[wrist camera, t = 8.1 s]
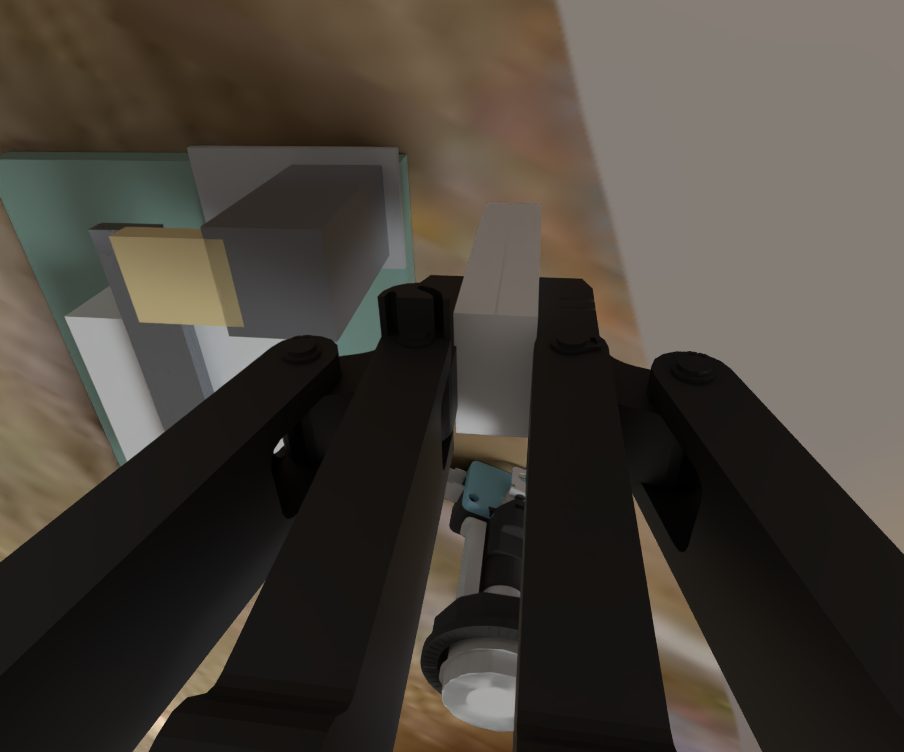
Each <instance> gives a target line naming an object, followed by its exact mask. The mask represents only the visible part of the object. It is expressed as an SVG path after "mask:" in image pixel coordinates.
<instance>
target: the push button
mask: <svg viewBox="0 0 904 752" xmlns="http://www.w3.org/2000/svg"><path fill="white" fill-rule="evenodd" d="M520 474H521V475H524V476H526V470H524V469H521V468H519V467H513V468H512V474H510V473H508V472H505V471H503V470H500V469H497V468H495V467H492V466H490V465H487V464H484V463H482V462H479V461H473V462H472V464H471V465H470V467H469V469H468V470H467V472H466V471H464V470H461V469H458V468H455V470H454V469H452V468H450V470H449V475H448V480H447V485H446V490H445V495H444V496H445V499H447V500H450V501H453V502H455V504H454V506H453V508H452V514H451V519H450V524H449V526H450V529H451V530H452V531H453V532H455V533H458V534H460V535H462V536H463V537H465V543H464V550H463V556H462V563H461V569H460V576H459V582H458V589H457V595H456V600H455V601H454V602H453V603H452V604H450V605H449V606H448V607H447V608H446V609H444V610H443V611H442V612H441V613H440V614H439V615H437V616H436V617H435V620H434V625H433V631H432V633H431V634H430V635H429V637H428V638H427V639H426V641H425V643H424V646H423V649H422V655H421V669H422V672H423V674H424V676H425V678H426V680H427V681H428V682H429V683H430V685H431V686H432V687H433V688H434V689H436V690H437V691H438V692H439V693H441V694H442V701H443V702H444V705H445V706H446V707H447V708H448V709H449V710H450V711H451V713H452V714H453V715H454V716H455V717H457V718H459V719H461V720H463V721H465V722H467V723H469V724H471V725H473V726H477V727H481V728H486V729H490V730H495V731H514V712H515V691H516V671H517V651H518V631H519V611H520V591H521V570H522V550H523V530H524V510H525V490H526V483H525V482H526V479H523V478H521V477H519V476H518V475H520ZM479 583H480V584H479ZM478 592H479V593H478Z"/></svg>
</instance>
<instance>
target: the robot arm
mask: <svg viewBox="0 0 904 752" xmlns="http://www.w3.org/2000/svg"><path fill="white" fill-rule="evenodd" d="M541 205H542V204H540V203H488V202H486V203H485V207H484V210H483V214H482V217H481V221H480V224H479V227H478V231H477V234H476V238H475V241H474V244H473V248H472V251H471V255H470V258H469V262H468V265H467V268H466V272H465V275H464V276H440V275H430V276H429V277H428V278H426V279H425V280H423V281H422V282H420V283H405V284H401V285H396V286H392V287H390V288H388V289H386V290H384V291H382V292H381V293H380V294H379V295H378V296H377V298H378V308H379V317H380V327H381V338H380V340H379V342H378V345H377V347H376V349H375V350H372V351H369V352H364V353H359V354H352V355H344V356H339V352H338V345H337V344H336V343H335V342H334V341H333V340H331V339H328V338H325V337H322V336H313V335H303V336H301V335H299V336H294V337H292V338H290V339H286V340H283V341H281V342H279V343H277V344H276V345H274V346H272V347H271V348H269V349H268V350H267V351H266V352H264V353H263V354H262V355H261V356H259V357H258V358H257V359H256V360H254V361H253V362H252V363H251V364H249V365H248V366H247V367H246V368H244V369H243V370H242V371H241V372H239V373H238V374H237V375H236V376H234V377H233V378H232V379H230V380H229V381H228V382H227V383H225V384H224V385H223V386H222V387H220V388H219V389H218V390H217V391H215V392H214V393H213V394H212V395H210V396H209V397H208V398H207V399H205V400H204V401H203V402H202V403H200V404H199V405H198V406H196V407H195V408H194V409H193V410H191V411H190V412H189V413H188V414H186V415H185V416H184V417H183V418H181V419H180V420H179V421H178V422H176V423H175V424H174V425H173V426H171V427H170V428H169V429H168V430H166V431H165V432H164V433H162V434H161V435H160V436H159V437H157V438H156V439H155V440H154V441H152V442H151V443H150V444H149V445H147V446H146V447H145V448H144V449H142V450H141V451H140V452H139V453H137V454H136V455H135V456H134V457H132V458H131V459H130V460H129V461H127V462H126V463H125V464H123V465H122V466H121V467H120V468H118V469H117V470H116V471H115V472H113V473H112V474H111V475H110V476H108V477H107V478H106V479H105V480H103V481H102V482H101V483H100V484H98V485H97V486H96V487H95V488H93V489H92V490H91V491H89V492H88V493H87V494H86V495H84V496H83V497H82V498H81V499H79V500H78V501H77V502H76V503H74V504H73V505H72V506H71V507H69V508H68V509H67V510H66V511H64V512H63V513H62V514H61V515H59V516H58V517H57V518H55V519H54V520H53V521H52V522H50V523H49V524H48V525H47V526H45V527H44V528H43V529H42V530H40V531H39V532H38V533H37V534H35V535H34V536H33V537H32V538H30V539H29V540H28V541H27V542H25V543H24V544H23V545H22V546H20V547H19V548H18V549H16V550H15V551H14V552H13V553H11V554H10V555H9V556H8V557H6V558H5V559H4V560H3V561H1V562H0V752H133V750H134V749H135V748H136V746H137V745H138V744H139V742H140V741H141V740H142V739H143V737H144V736H145V735H146V733H147V732H148V731H149V730H150V728H151V727H152V726H153V724H154V723H155V722H156V721H157V719H158V718H159V717H160V715H161V714H162V713H163V712H164V710H165V709H166V708H167V706H168V705H169V704H170V703H171V701H172V700H173V699H174V697H175V696H176V695H177V694H178V692H179V691H180V690H181V688H182V687H183V686H184V685H185V683H186V682H187V681H188V679H189V678H190V677H191V676H192V674H193V673H194V672H195V670H196V669H197V668H198V666H199V665H200V664H201V663H202V661H203V660H204V659H205V657H206V656H207V655H208V654H209V652H210V651H211V650H212V648H213V647H214V646H215V645H216V643H217V642H218V641H219V639H220V638H221V637H222V636H223V634H224V633H225V632H226V630H227V629H228V628H229V627H230V625H231V624H232V623H233V621H234V620H235V619H236V618H237V616H238V615H239V614H240V612H241V611H242V610H243V609H244V607H245V606H246V605H247V603H248V602H249V601H250V600H251V598H252V597H253V596H254V594H255V593H256V592H257V590H258V589H259V588H260V587H261V585H262V584H263V583H264V581H265V580H266V581H265V583H264V585H263V587H262V589H261V591H260V593H259V595H258V598H257V600H256V602H255V604H254V606H253V608H252V610H251V612H250V614H249V617H248V619H247V621H246V623H245V625H244V627H243V629H242V631H241V633H240V635H239V638H238V640H237V642H236V644H235V646H234V648H233V650H232V652H231V654H230V657H229V659H228V661H227V663H226V665H225V667H224V669H223V671H222V673H221V675H220V677H219V678H218V680H217V682H216V684H215V685H214V686H213V687H212V688H211V689H210V690H209V691H208V692H207V693H205V694H200V695H196V696H192V697H187V698H186V699H185V700H184V701H183V702H182V703H181V704H180V705H179V706H178V707H177V708H176V709H174V710H173V711H172V713H171V714H170V716H169V718H168V719H167V721H166V722H165V724H164V725H163V727H162V729H161V730H160V732H159V733H158V735H157V736H156V738H155V740H154V742H153V744H152V746H151V748H150V750H149V752H393V748H394V743H395V738H396V733H397V728H398V723H399V718H400V713H401V709H402V704H403V699H404V694H405V689H406V684H407V679H408V674H409V669H410V664H411V659H412V654H413V649H414V644H415V639H416V634H417V629H418V624H419V619H420V614H421V609H422V604H423V599H424V594H425V589H426V584H427V579H428V574H429V569H430V564H431V559H432V554H433V549H434V544H435V540H436V535H437V530H438V525H439V520H440V515H441V510H442V505H443V500H444V495H445V490H446V485H447V480H448V475H449V470H450V465H451V460H452V455H453V450H454V440H453V428H454V423H455V418H456V433H468V434H483V435H497V436H512V437H527V438H528V450H527V466H526V482H525V483H526V490H525V510H524V530H523V550H522V570H521V591H520V611H519V631H518V651H517V671H516V691H515V712H514V732H513V752H677V751H676V749H675V746H674V743H673V739H672V734H671V730H670V723H669V717H668V711H667V705H666V699H665V693H664V686H663V680H662V674H661V668H660V662H659V656H658V649H657V643H656V637H655V631H654V625H653V619H652V612H651V606H650V600H649V594H648V588H647V582H646V575H645V569H644V563H643V557H642V551H641V545H640V538H639V532H638V526H637V520H636V514H635V508H634V502H633V495H634V497H635V499H636V501H637V503H638V505H639V507H640V509H641V511H642V513H643V515H644V517H645V519H646V521H647V523H648V525H649V527H650V529H651V531H652V533H653V535H654V537H655V539H656V541H657V543H658V545H659V547H660V549H661V551H662V553H663V555H664V557H665V559H666V561H667V563H668V565H669V567H670V569H671V571H672V573H673V575H674V577H675V579H676V581H677V583H678V585H679V587H680V589H681V591H682V593H683V595H684V597H685V599H686V601H687V603H688V605H689V607H690V609H691V611H692V613H693V615H694V617H695V619H696V621H697V623H698V625H699V627H700V629H701V631H702V633H703V635H704V637H705V639H706V641H707V643H708V645H709V647H710V649H711V651H712V653H713V655H714V657H715V659H716V661H717V663H718V665H719V667H720V669H721V671H722V673H723V675H724V677H725V678H726V680H727V682H728V684H729V686H730V688H731V690H732V692H733V694H734V696H735V698H736V700H737V702H738V704H739V706H740V708H741V710H742V712H743V714H744V716H745V718H746V720H747V722H748V724H749V726H750V728H751V730H752V732H753V734H754V736H755V738H756V740H757V742H758V744H759V746H760V748H761V750H762V752H904V554H903V553H902V552H901V551H900V550H899V549H898V548H897V547H896V545H895V544H894V543H893V542H892V541H891V540H890V539H889V538H888V537H887V536H886V535H885V534H884V533H883V532H882V530H881V529H880V528H879V527H878V526H877V525H876V524H875V523H874V522H873V521H872V520H871V519H870V518H869V517H868V516H867V514H866V513H865V512H864V511H863V510H862V509H861V508H860V507H859V506H858V505H857V504H856V503H855V501H854V500H853V499H852V498H851V497H850V496H849V495H848V494H847V493H846V492H845V491H844V490H843V489H842V488H841V486H840V485H839V484H838V483H837V482H836V481H835V480H834V479H833V478H832V477H831V476H830V475H829V474H828V472H827V471H826V470H825V469H824V468H823V467H822V466H821V465H820V464H819V463H818V462H817V461H816V460H815V459H814V458H813V457H812V455H811V454H810V453H809V452H808V451H807V450H806V449H805V448H804V447H803V446H802V445H801V443H799V441H798V440H797V439H796V438H795V437H794V436H793V435H792V434H791V433H790V432H789V431H788V430H787V428H786V427H785V426H784V425H783V424H782V423H781V422H780V421H779V420H778V419H777V418H776V417H775V416H774V415H773V414H772V412H771V411H770V410H769V409H768V408H767V407H766V406H765V405H764V404H763V403H762V402H761V401H760V399H759V398H758V397H757V396H756V395H755V394H754V393H753V392H752V391H751V390H750V389H749V388H748V387H747V386H746V385H745V383H744V382H743V381H742V380H741V379H740V378H739V377H738V376H737V375H736V374H735V373H734V372H733V371H732V370H731V369H730V368H729V367H728V366H726V365H725V364H724V363H723V362H721V361H719V360H717V359H715V358H712V357H710V356H708V355H706V354H702V353H697V352H691V351H688V352H678V351H677V352H671V353H666V354H663V355H661V356H659V357H657V358H656V359H655V360H654V362H653V364H652V366H651V370H650V369H645V368H641V367H637V366H633V365H630V364H626V363H623V362H621V361H619V360H617V359H615V358H613V357H612V356H610V354H609V347H608V345H607V343H606V342H605V340H604V339H603V338H601V337H600V336H599V329H598V322H597V315H596V311H595V302H594V295H593V289H592V288H591V287H590V286H589V285H588V284H587V283H586V282H585V281H584V280H583V279H574V278H545V277H539V268H540V236H541ZM282 438H283V443H284V446H283V447H282V448H281V449H280V450H279V451H278V452H276V453H275V454H274V449H275V447H276V446H277V445H278V443H279V442H280V440H281V439H282ZM632 493H633V495H632Z"/></svg>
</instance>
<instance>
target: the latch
mask: <svg viewBox="0 0 904 752" xmlns="http://www.w3.org/2000/svg"><path fill="white" fill-rule="evenodd" d="M200 228H201V229H192V228H153V227H124V228H123V229H121V230H119V231H117V232H116V233H114V234H112V235H110V236H109V238H110V241H111V244H112V247H113V250H114V252H115V255H116V258H117V261H118V264H119V266H120V269H121V272H122V275H123V278H124V280H125V283H126V286H127V289H128V292H129V294H130V297H131V300H132V303H133V306H134V308H135V311H136V314H137V317H138V320H139V322H145V323H165V324H186V325H207V326H227V330H228V334H229V336H232V337H252V338H272V339H290V338H292V337H294V336H299V335H301V336H303V335H313V336H322V337H325V338H328V339H331V340H333V341H334V342H338V340H339V339H340V337H341V335H342V334H343V332H344V330H345V329H346V327H347V325H348V324H349V322H350V320H351V319H352V317H353V315H354V314H355V312H356V310H357V309H358V307H359V305H360V304H361V302H362V300H363V299H364V297H365V295H366V294H367V292H368V290H369V289H370V287H371V285H372V284H373V282H374V280H375V279H376V277H377V275H378V274H379V272H380V270H381V269H382V267H383V265H384V264H385V262H386V260H387V259H388V257H389V255H390V254H389V242H388V231H387V219H386V208H385V196H384V185H383V173H382V165H290V166H289V167H287V168H286V169H284V170H283V171H281V172H280V173H278V174H277V175H275V176H274V177H272V178H271V179H270V180H268V181H267V182H265V183H264V184H262V185H261V186H259V187H258V188H256V189H255V190H253V191H252V192H250V193H249V194H248V195H246V196H245V197H243V198H242V199H240V200H239V201H237V202H236V203H234V204H233V205H231V206H230V207H228V208H227V209H226V210H224V211H223V212H221V213H220V214H218V215H217V216H215V217H214V218H212V219H211V220H209V221H208V222H206V223H205V224H204V225H202V226H201V227H200Z"/></svg>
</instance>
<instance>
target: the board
mask: <svg viewBox="0 0 904 752" xmlns="http://www.w3.org/2000/svg"><path fill="white" fill-rule="evenodd" d="M187 152H188V153H147V152H16V151H9V152H6V153H3V154H0V197H1V200H2V202H3V204H4V206H5V209H6V211H7V213H8V215H9V218H10V220H11V222H12V224H13V227H14V229H15V231H16V233H17V236H18V238H19V240H20V242H21V245H22V247H23V249H24V251H25V254H26V256H27V258H28V260H29V263H30V265H31V267H32V269H33V272H34V274H35V276H36V278H37V281H38V283H39V285H40V287H41V290H42V292H43V294H44V296H45V299H46V301H47V303H48V305H49V308H50V310H51V312H52V314H53V317H54V319H55V321H56V323H57V326H58V328H59V330H60V332H61V335H62V337H63V339H64V341H65V344H66V346H67V348H68V350H69V353H70V355H71V357H72V359H73V362H74V364H75V366H76V368H77V371H78V373H79V375H80V377H81V380H82V382H83V384H84V386H85V389H86V391H87V393H88V395H89V398H90V400H91V402H92V404H93V407H94V409H95V411H96V413H97V416H98V418H99V420H100V422H101V425H102V427H103V429H104V431H105V434H106V436H107V438H108V440H109V443H110V445H111V447H112V449H113V452H114V454H115V456H116V458H117V461H118V463H119V465H120V467H121V466H122V465H123V464H125V463H126V462H127V461H129V460H130V459H131V458H132V457H134V456H135V455H136V454H137V453H139V452H140V451H141V450H142V449H144V448H145V447H146V446H147V445H149V444H150V443H151V442H152V441H154V440H155V439H156V438H157V437H159V436H160V435H161V434H162V433H164V432H165V431H164V428H163V426H162V423H161V421H160V418H159V415H158V413H157V410H156V407H155V405H154V402H153V399H152V397H151V394H150V391H149V389H148V386H147V383H146V381H145V378H144V376H143V373H142V370H141V368H140V365H139V362H138V360H137V357H136V354H135V352H134V349H133V346H132V344H131V341H130V338H129V336H128V333H127V331H126V328H125V325H124V323H123V320H122V317H121V315H120V312H119V309H118V307H117V304H116V301H115V299H114V296H113V293H112V291H111V288H110V286H109V283H108V280H107V278H106V275H105V272H104V270H103V267H102V264H101V262H100V259H99V256H98V254H97V251H96V248H95V246H94V243H93V241H92V238H91V235H90V233H89V230H88V229H90V228H92V227H94V226H96V225H98V224H100V223H137V224H163V226H164V228H192V229H201V228H200V227H201V226H202V225H204V224H205V223H206V222H208V221H209V220H211V219H212V218H214V217H215V216H217V215H218V214H220V213H221V212H223V211H224V210H226V209H227V208H228V207H230V206H231V205H233V204H234V203H236V202H237V201H239V200H240V199H242V198H243V197H245V196H246V195H248V194H249V193H250V192H252V191H253V190H255V189H256V188H258V187H259V186H261V185H262V184H264V183H265V182H267V181H268V180H270V179H271V178H272V177H274V176H275V175H277V174H278V173H280V172H281V171H283V170H284V169H286V168H287V167H289V166H290V165H382V173H383V185H384V196H385V208H386V219H387V231H388V242H389V254H390V255H389V257H388V259H387V260H386V262H385V264H384V265H383V267H382V269H381V270H380V272H379V274H378V275H377V277H376V279H375V280H374V282H373V284H372V285H371V287H370V289H369V290H368V292H367V294H366V295H365V297H364V299H363V300H362V302H361V304H360V305H359V307H358V309H357V310H356V312H355V314H354V315H353V317H352V319H351V320H350V322H349V324H348V325H347V327H346V329H345V330H344V332H343V334H342V335H341V337H340V339H339V340H338V342H335V343H336V344H337V345H338V352H339V356H344V355H352V354H359V353H364V352H369V351H372V350H375V349H376V347H377V345H378V342H379V340H380V338H381V327H380V317H379V308H378V298H377V296H378V295H379V294H380V293H381V292H382V291H384V290H386V289H388V288H390V287H392V286H396V285H401V284H405V283H415V275H414V259H413V244H412V228H411V212H410V196H409V181H408V165H407V154H399V152H398V147H335V146H189V147H187ZM194 328H195V331H196V335H197V338H198V341H199V345H200V348H201V351H202V354H203V358H204V361H205V364H206V368H207V371H208V374H209V377H210V381H211V384H212V387H213V391H214V392H215V391H217V390H218V389H219V388H220V387H222V386H223V385H224V384H225V383H227V382H228V381H229V380H230V379H232V378H233V377H234V376H236V375H237V374H238V373H239V372H241V371H242V370H243V369H244V368H246V367H247V366H248V365H249V364H251V363H252V362H253V361H254V360H256V359H257V358H258V357H259V356H261V355H262V354H263V353H264V352H266V351H267V350H268V349H269V348H271V347H272V346H274V345H276V344H277V343H279V342H281V341H283V340H286V339H272V338H252V337H232V336H229V334H228V330H227V326H207V325H194ZM283 446H284V443H283V438H282V439H281V440H280V442H279V443H278V445H277V446H276V447H275V449H274V454H275V453H276V452H278V451H279V450H280V449H281V448H282V447H283Z"/></svg>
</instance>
